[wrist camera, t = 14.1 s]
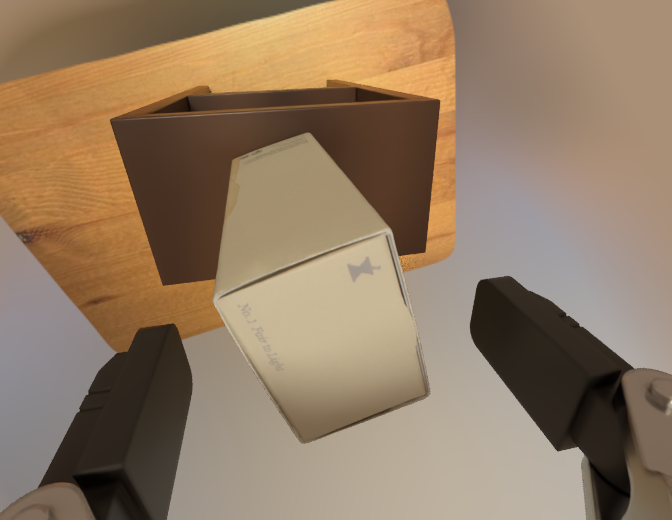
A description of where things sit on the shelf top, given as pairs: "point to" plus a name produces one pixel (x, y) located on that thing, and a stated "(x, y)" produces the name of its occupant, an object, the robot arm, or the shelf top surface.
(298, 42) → the shelf top surface
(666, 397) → the robot arm
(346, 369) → the cosmetic box
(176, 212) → the walnut shelf
